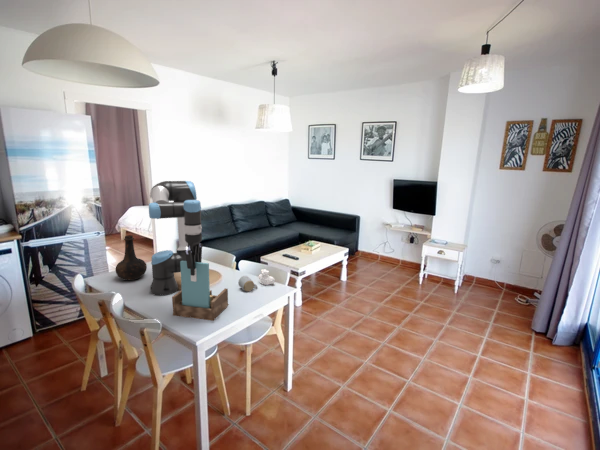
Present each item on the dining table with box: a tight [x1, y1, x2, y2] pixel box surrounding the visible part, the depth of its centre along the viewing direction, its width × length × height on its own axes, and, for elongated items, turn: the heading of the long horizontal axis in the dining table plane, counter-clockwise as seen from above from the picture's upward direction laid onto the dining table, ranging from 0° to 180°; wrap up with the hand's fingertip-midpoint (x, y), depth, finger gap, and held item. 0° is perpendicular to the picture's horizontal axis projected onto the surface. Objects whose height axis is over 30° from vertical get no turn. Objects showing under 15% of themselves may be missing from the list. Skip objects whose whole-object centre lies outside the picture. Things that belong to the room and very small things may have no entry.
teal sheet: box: [180, 261, 211, 309], centre depth 153 cm, size 14×2×24 cm, turn 79°
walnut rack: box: [171, 288, 230, 322], centre depth 161 cm, size 22×18×11 cm
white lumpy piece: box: [257, 268, 276, 286], centre depth 199 cm, size 12×8×11 cm
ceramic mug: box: [238, 275, 258, 292], centre depth 191 cm, size 11×8×8 cm
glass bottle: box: [115, 234, 148, 281], centre depth 200 cm, size 18×18×28 cm
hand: (195, 280), depth 152 cm, fingers closed on teal sheet, 2 cm apart
